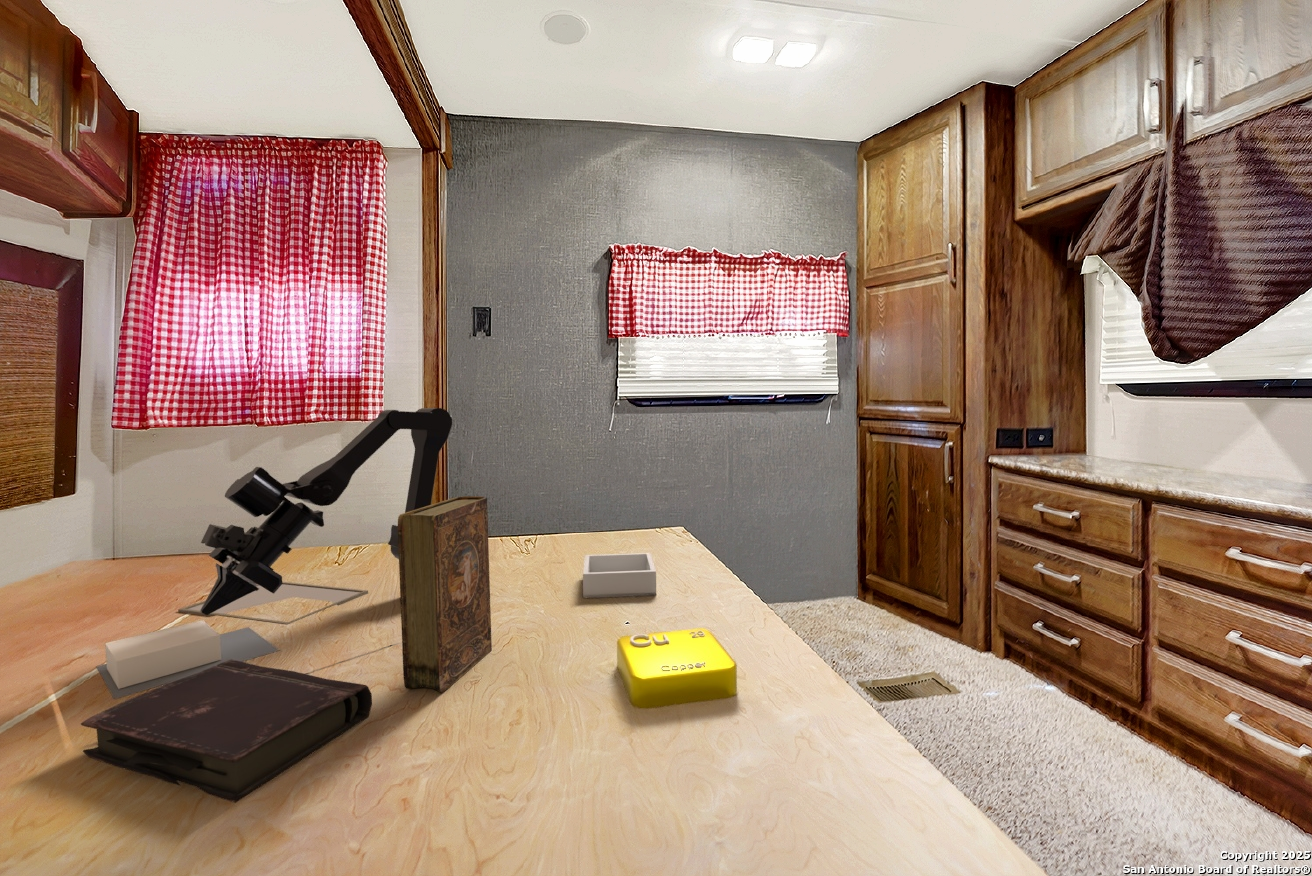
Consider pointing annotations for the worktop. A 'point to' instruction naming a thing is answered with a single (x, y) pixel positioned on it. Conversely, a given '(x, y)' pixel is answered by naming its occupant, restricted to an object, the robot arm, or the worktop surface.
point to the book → (444, 591)
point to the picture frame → (283, 592)
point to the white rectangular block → (161, 653)
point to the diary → (227, 726)
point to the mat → (233, 646)
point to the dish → (619, 575)
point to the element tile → (675, 668)
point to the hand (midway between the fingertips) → (203, 613)
